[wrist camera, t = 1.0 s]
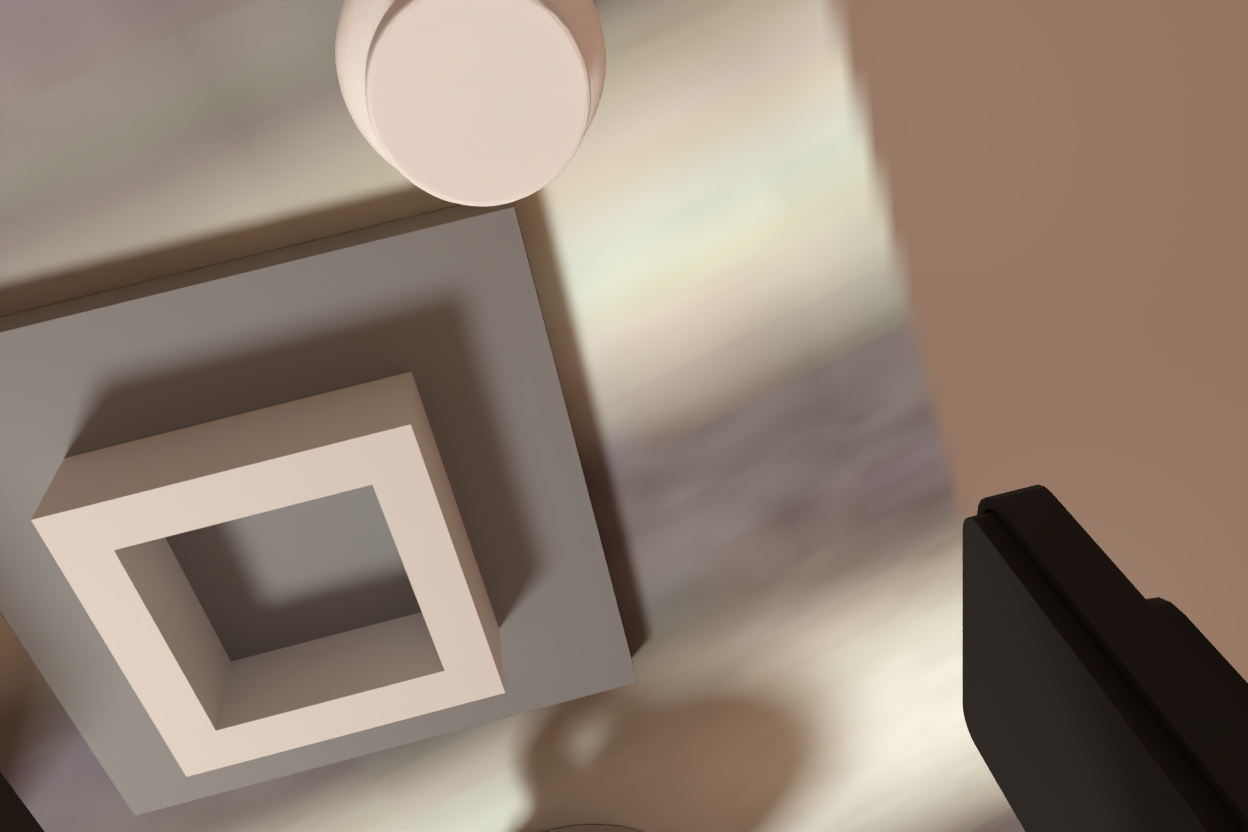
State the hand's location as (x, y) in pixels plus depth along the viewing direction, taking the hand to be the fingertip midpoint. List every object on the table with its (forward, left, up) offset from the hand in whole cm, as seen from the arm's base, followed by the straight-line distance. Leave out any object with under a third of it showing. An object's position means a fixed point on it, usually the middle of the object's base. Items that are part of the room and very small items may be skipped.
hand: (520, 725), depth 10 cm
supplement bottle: (-3, +1, -22) cm, 22 cm away
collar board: (+11, -8, -21) cm, 25 cm away
